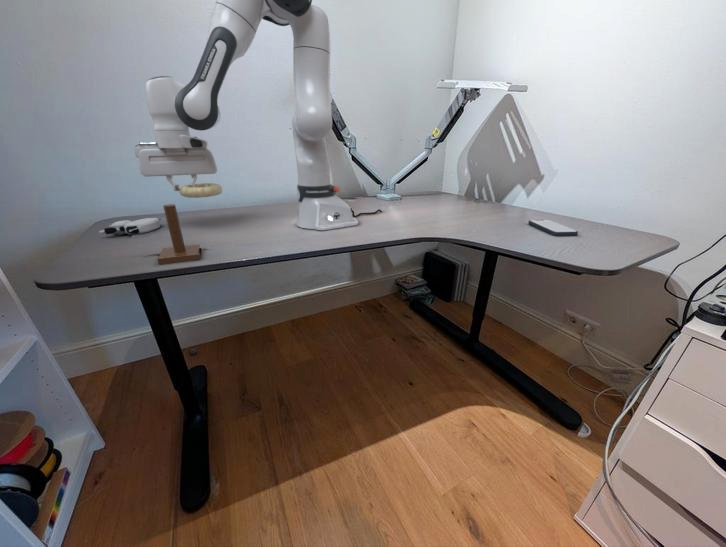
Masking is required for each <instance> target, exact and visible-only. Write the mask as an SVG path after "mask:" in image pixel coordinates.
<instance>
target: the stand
mask: <svg viewBox="0 0 726 547" xmlns="http://www.w3.org/2000/svg"><path fill="white" fill-rule="evenodd" d="M162 208H163V211H164V216H165V219H166V223H167V227H168V231H169V235H170V240H171V244H172V246H170V247H162V250H161V252H160V253H159V255H158V257H157V262H158V265H167V264H175V263H183V262H192V261H199V260H200V257H201V252H202V248H201V243H200V244H199V243H198V244H190V245H186V244H185V241H184V237H183V232H182V228H181V223H180V219H179V215H178V210H177V207H176V204H174V203H169V204H164V205H163V207H162Z"/></svg>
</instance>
